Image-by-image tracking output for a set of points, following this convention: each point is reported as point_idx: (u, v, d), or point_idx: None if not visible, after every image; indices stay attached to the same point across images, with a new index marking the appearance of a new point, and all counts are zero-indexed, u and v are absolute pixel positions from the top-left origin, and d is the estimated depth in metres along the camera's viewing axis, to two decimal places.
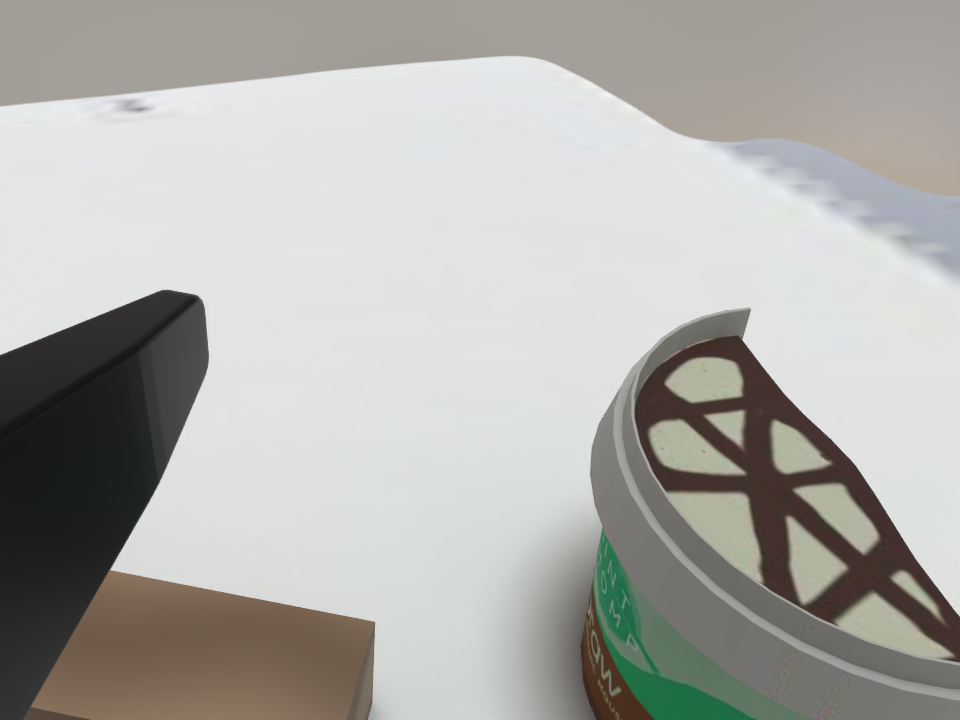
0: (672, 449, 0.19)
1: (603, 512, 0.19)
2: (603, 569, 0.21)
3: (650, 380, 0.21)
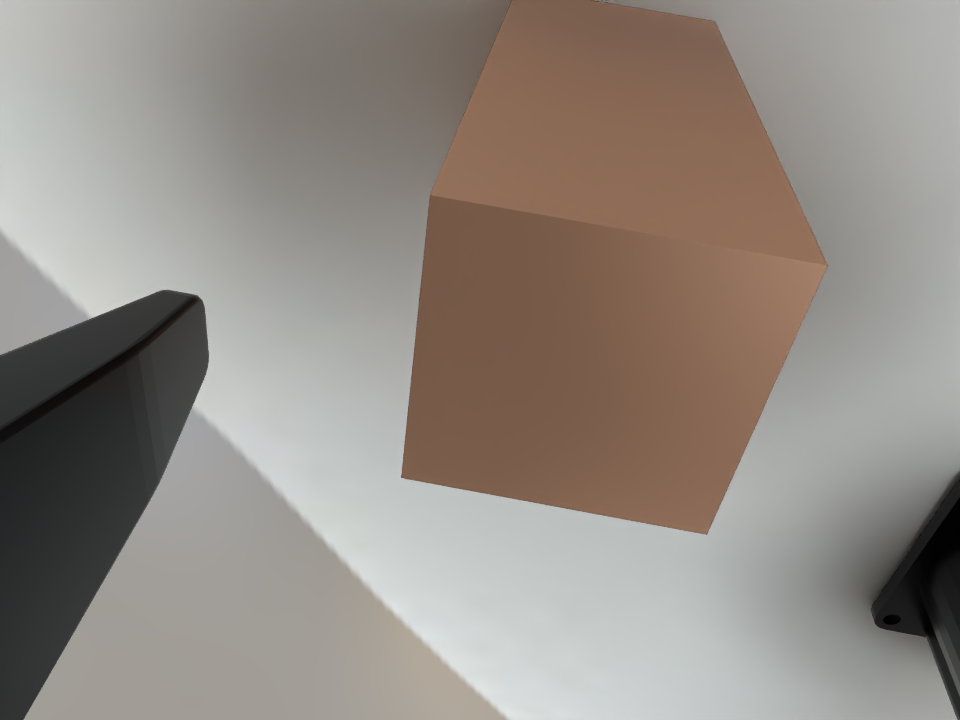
0: None
1: None
2: None
3: None
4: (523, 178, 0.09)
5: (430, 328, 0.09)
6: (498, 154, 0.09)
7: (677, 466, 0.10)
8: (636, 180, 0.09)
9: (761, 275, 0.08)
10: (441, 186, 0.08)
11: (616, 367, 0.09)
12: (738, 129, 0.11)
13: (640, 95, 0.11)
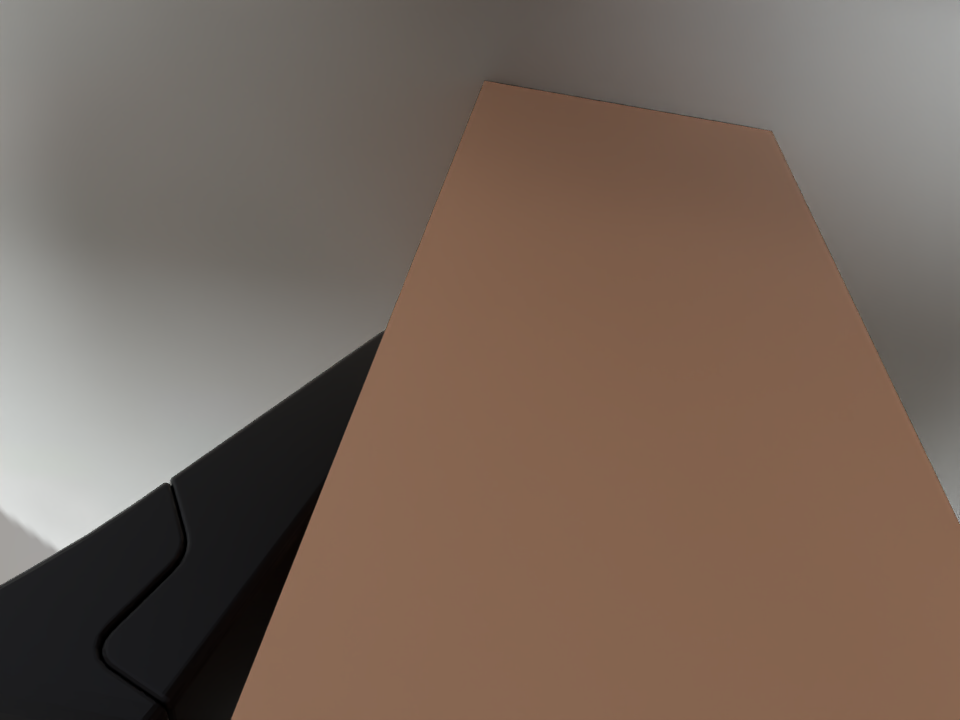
0: None
1: None
2: None
3: None
4: None
5: None
6: (389, 610, 0.04)
7: None
8: (693, 676, 0.04)
9: None
10: None
11: None
12: (863, 425, 0.06)
13: (679, 341, 0.06)
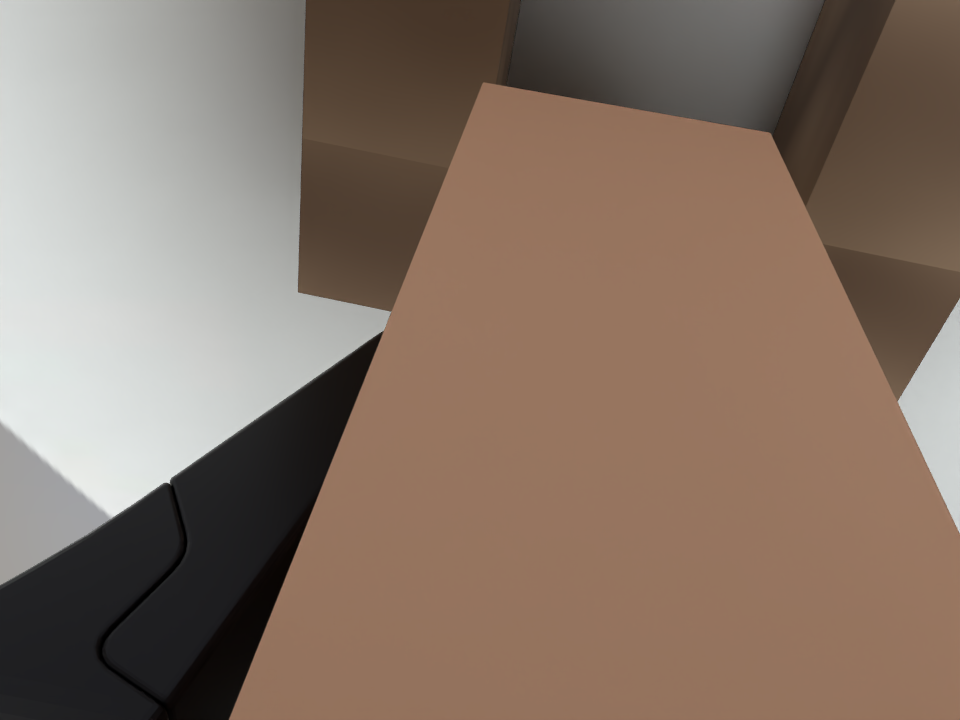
0: None
1: None
2: None
3: None
4: None
5: None
6: (386, 613, 0.04)
7: None
8: (689, 680, 0.04)
9: None
10: None
11: None
12: (861, 427, 0.06)
13: (676, 342, 0.06)
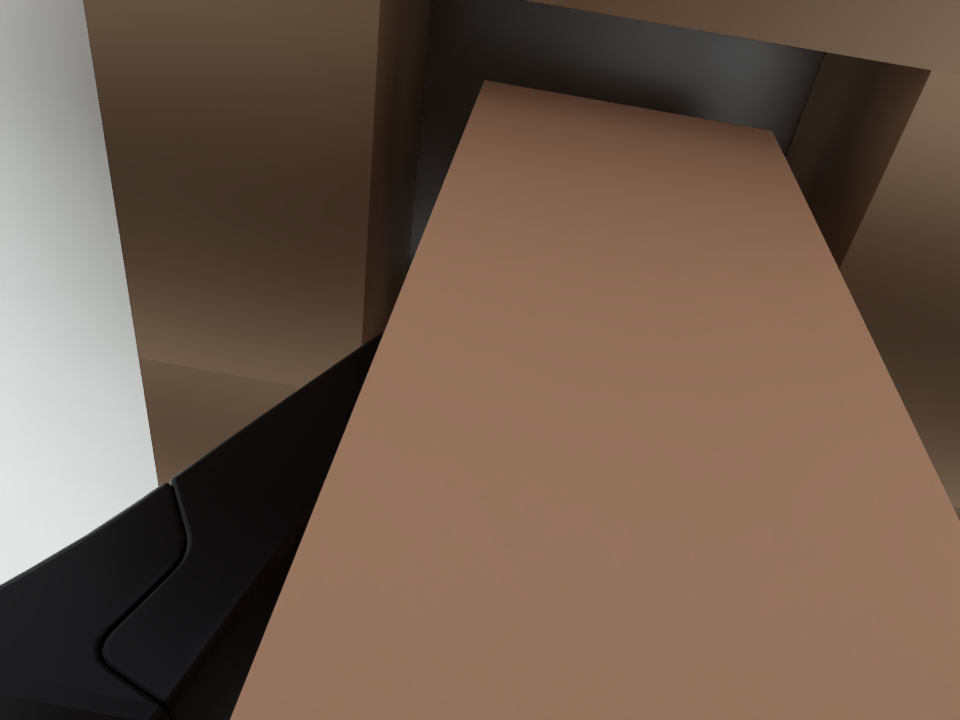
0: None
1: None
2: None
3: None
4: None
5: None
6: (387, 612, 0.04)
7: None
8: (695, 680, 0.04)
9: None
10: None
11: None
12: (864, 425, 0.06)
13: (678, 340, 0.06)
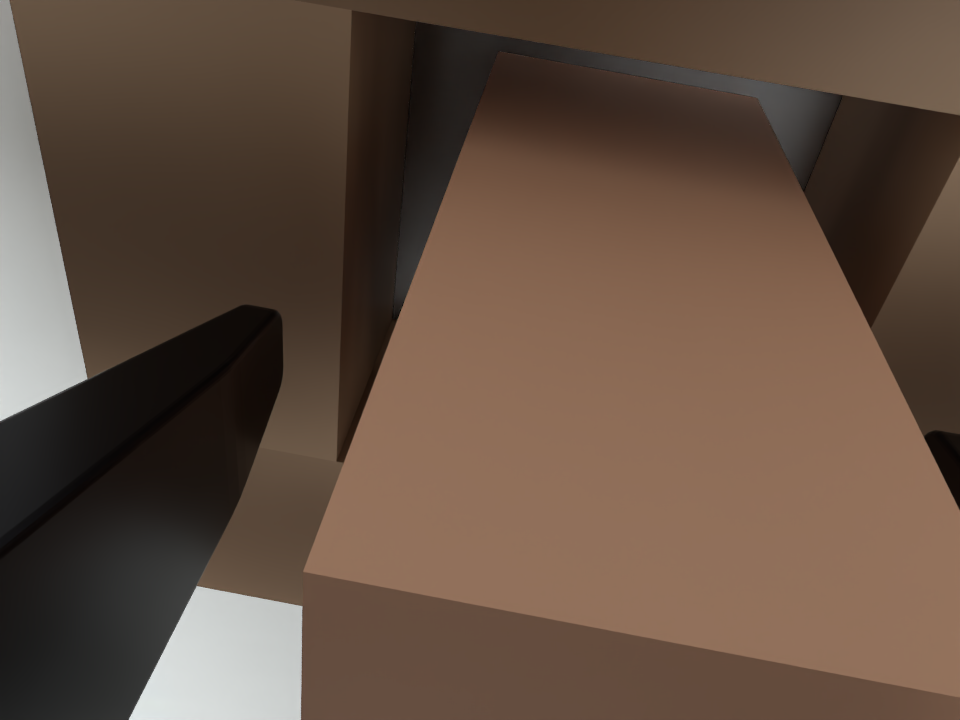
0: None
1: None
2: None
3: None
4: (486, 492, 0.05)
5: None
6: (446, 425, 0.05)
7: None
8: (681, 473, 0.05)
9: (930, 718, 0.04)
10: (329, 538, 0.04)
11: None
12: (825, 318, 0.07)
13: (672, 254, 0.08)
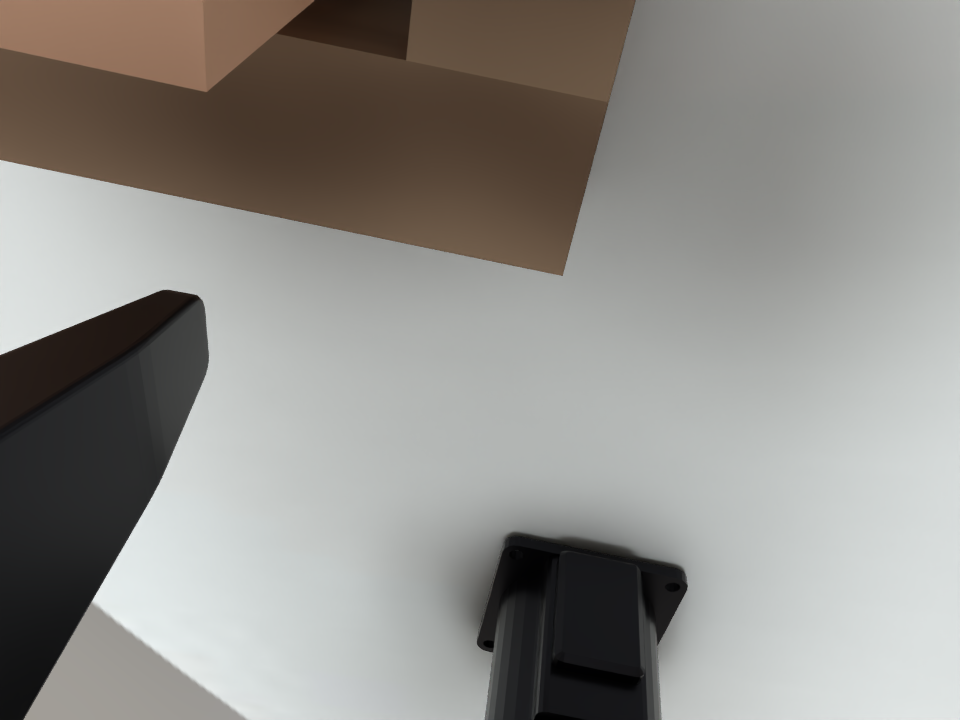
0: None
1: None
2: None
3: None
4: None
5: None
6: None
7: None
8: None
9: None
10: None
11: None
12: None
13: None
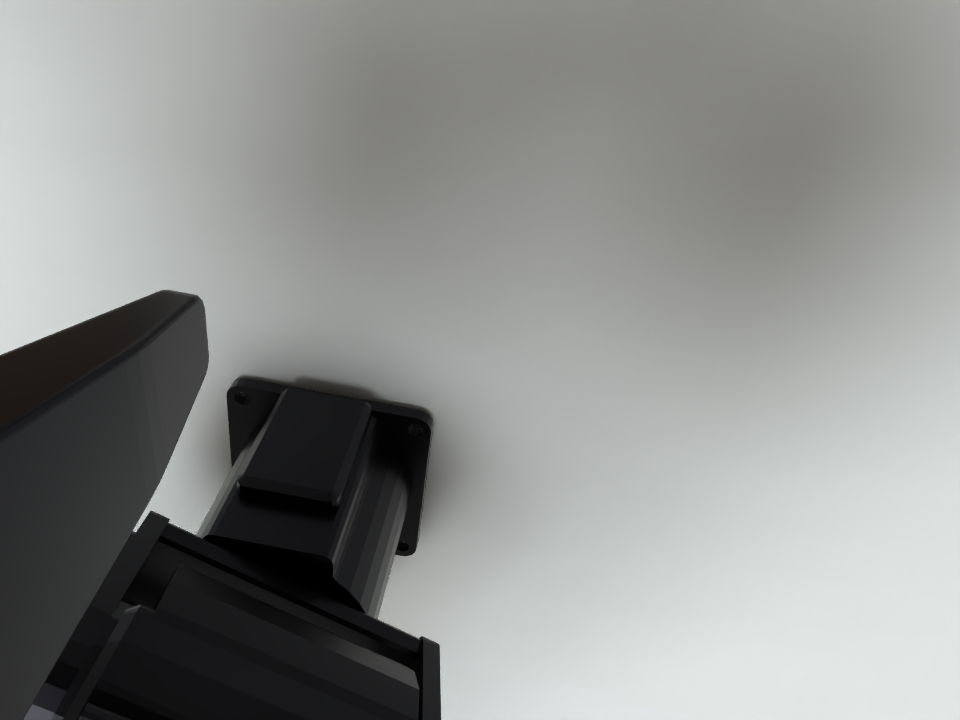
0: None
1: None
2: None
3: None
4: None
5: None
6: None
7: None
8: None
9: None
10: None
11: None
12: None
13: None
